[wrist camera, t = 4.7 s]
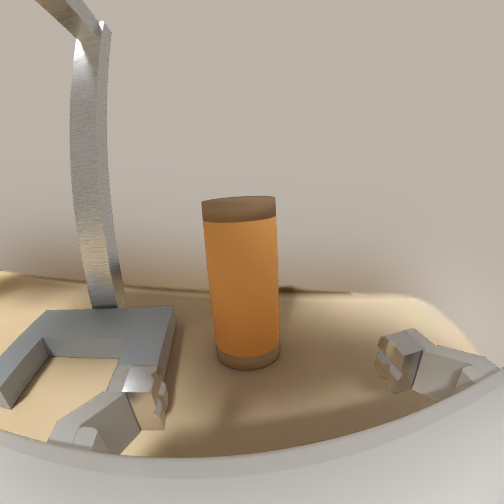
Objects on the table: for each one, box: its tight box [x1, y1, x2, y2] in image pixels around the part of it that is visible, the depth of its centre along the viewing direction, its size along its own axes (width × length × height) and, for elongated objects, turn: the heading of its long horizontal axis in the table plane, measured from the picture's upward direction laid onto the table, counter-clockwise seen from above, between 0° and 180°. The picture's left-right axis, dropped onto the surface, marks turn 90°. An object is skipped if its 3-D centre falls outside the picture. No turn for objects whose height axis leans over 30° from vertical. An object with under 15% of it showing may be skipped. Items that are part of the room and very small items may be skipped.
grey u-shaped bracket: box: [0, 305, 176, 409], centre depth 20 cm, size 15×14×2 cm
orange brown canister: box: [201, 196, 280, 370], centre depth 21 cm, size 5×5×12 cm
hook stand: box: [36, 0, 128, 309], centre depth 20 cm, size 3×14×36 cm, turn 7°
